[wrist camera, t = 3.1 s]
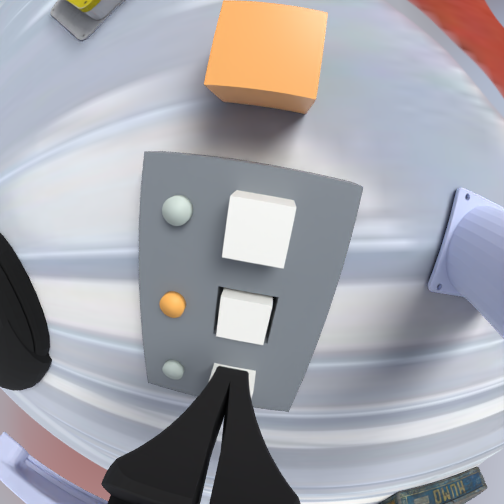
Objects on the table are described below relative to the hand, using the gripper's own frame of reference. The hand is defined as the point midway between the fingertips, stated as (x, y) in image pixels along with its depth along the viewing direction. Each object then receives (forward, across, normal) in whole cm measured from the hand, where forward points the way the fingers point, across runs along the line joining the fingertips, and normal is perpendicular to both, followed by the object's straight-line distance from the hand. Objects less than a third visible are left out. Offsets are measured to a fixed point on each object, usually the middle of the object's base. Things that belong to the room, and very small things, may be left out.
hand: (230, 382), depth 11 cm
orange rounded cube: (+8, +1, -15) cm, 17 cm away
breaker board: (+8, +1, 0) cm, 8 cm away
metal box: (+9, -56, +56) cm, 80 cm away
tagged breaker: (+8, 0, 0) cm, 8 cm away
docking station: (+9, +39, +16) cm, 43 cm away
